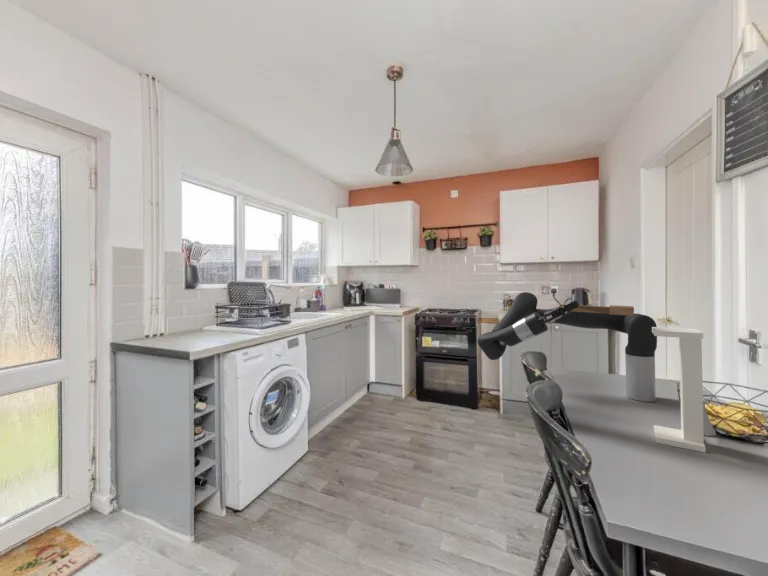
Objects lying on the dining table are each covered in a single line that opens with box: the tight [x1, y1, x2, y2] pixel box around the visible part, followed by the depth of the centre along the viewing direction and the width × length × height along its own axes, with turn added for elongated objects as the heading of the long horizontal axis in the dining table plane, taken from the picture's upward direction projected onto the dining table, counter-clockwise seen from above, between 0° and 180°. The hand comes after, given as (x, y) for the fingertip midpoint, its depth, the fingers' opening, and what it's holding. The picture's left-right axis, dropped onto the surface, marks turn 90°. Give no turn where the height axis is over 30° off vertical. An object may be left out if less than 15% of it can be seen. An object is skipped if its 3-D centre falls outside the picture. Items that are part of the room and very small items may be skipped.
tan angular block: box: [558, 304, 635, 316], centre depth 105 cm, size 7×20×2 cm, turn 54°
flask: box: [703, 398, 717, 437], centre depth 99 cm, size 7×7×10 cm
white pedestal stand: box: [652, 326, 707, 454], centre depth 94 cm, size 10×10×32 cm
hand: (577, 303), depth 108 cm, fingers closed on tan angular block, 2 cm apart
